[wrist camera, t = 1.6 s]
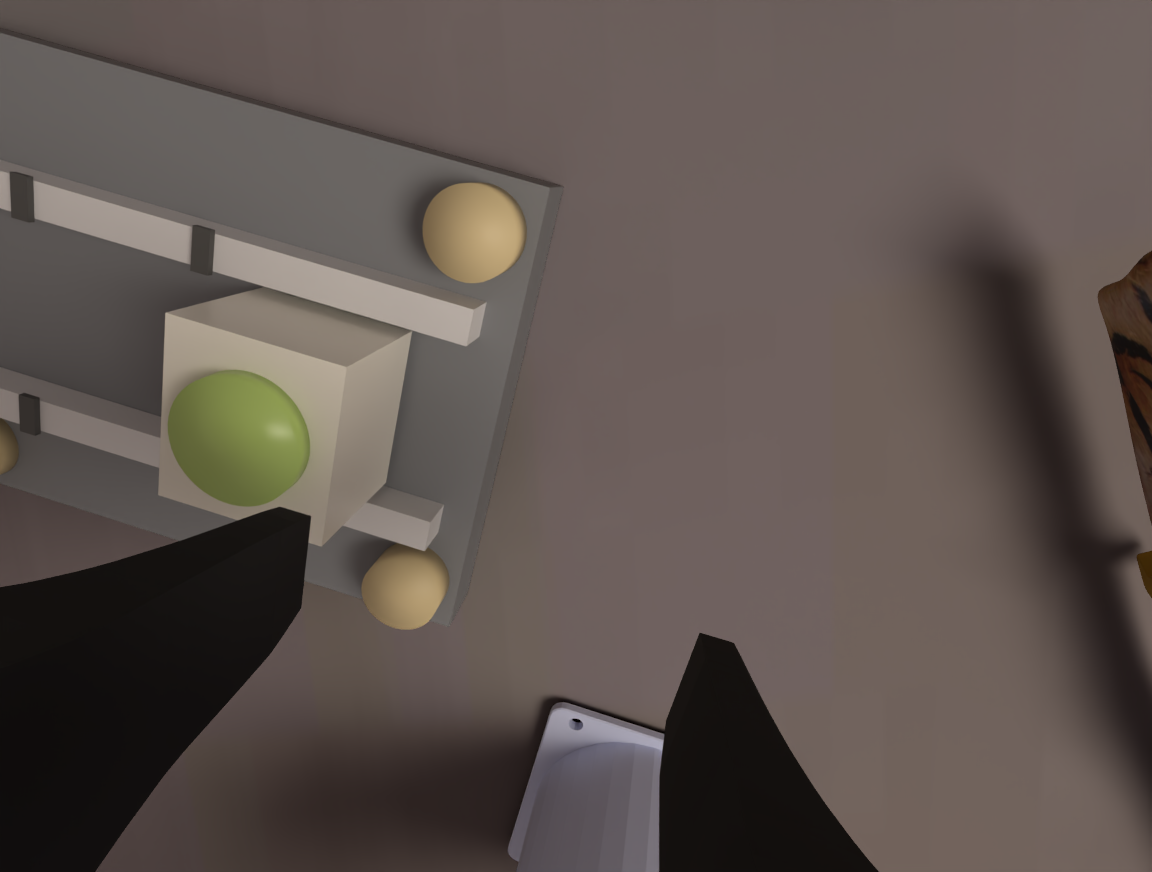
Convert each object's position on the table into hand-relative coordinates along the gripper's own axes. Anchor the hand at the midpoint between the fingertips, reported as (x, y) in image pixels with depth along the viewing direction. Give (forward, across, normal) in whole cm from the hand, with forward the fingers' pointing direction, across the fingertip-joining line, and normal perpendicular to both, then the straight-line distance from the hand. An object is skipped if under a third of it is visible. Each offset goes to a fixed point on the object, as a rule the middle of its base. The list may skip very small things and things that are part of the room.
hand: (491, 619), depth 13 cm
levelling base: (+10, +11, 0) cm, 15 cm away
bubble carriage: (+8, +7, 0) cm, 11 cm away
